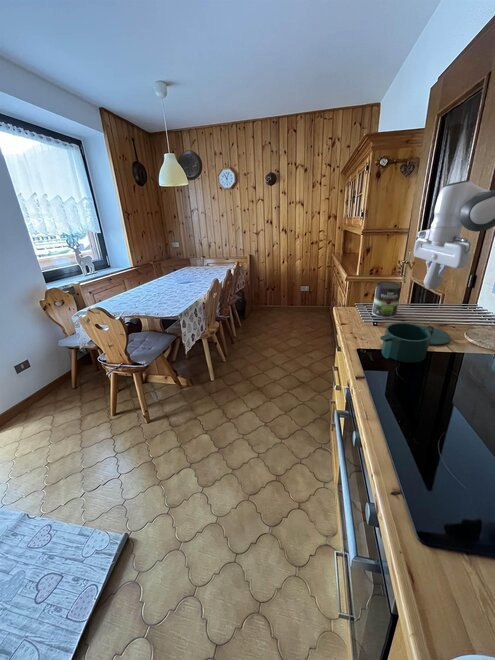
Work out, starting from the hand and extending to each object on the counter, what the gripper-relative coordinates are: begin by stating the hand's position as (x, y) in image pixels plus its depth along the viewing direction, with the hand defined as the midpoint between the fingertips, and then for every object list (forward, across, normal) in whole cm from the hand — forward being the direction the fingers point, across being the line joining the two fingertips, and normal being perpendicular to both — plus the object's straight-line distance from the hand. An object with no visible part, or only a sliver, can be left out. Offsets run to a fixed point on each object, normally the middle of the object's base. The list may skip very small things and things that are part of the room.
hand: (434, 274), depth 102 cm
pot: (+24, -12, +17) cm, 32 cm away
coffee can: (+24, +20, +2) cm, 32 cm away
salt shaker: (+5, 0, 0) cm, 5 cm away
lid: (+23, -4, 0) cm, 24 cm away
